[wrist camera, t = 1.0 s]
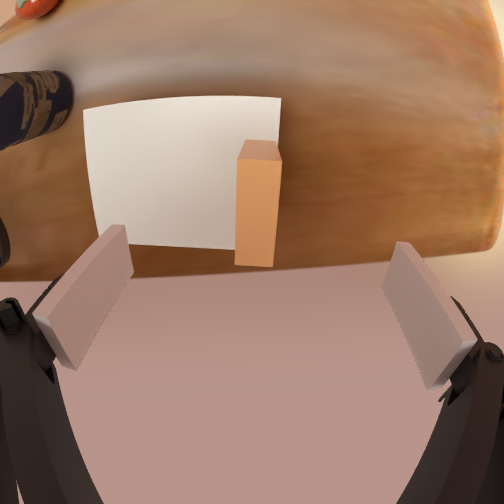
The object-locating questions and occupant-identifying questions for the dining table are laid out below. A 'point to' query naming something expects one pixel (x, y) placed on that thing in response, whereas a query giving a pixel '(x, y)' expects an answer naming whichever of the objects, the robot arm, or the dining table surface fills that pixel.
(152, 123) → the lid
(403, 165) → the dining table surface
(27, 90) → the canister
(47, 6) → the tomato
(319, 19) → the dining table surface
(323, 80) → the dining table surface
